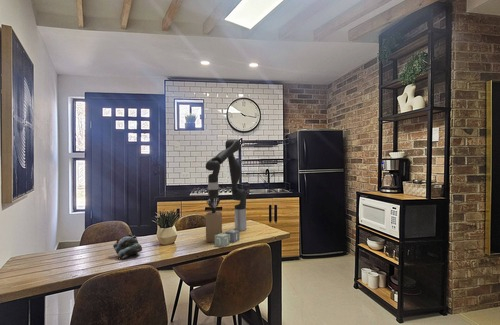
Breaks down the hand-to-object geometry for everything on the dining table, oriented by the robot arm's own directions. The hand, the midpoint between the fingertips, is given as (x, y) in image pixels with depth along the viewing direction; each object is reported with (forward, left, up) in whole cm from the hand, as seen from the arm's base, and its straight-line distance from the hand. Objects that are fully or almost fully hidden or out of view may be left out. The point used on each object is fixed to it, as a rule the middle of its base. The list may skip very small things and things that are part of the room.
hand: (213, 212), depth 209 cm
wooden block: (0, 0, -20) cm, 20 cm away
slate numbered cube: (-6, +12, -20) cm, 24 cm away
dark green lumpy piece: (+53, -23, -20) cm, 62 cm away
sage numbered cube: (+6, +12, -20) cm, 24 cm away
